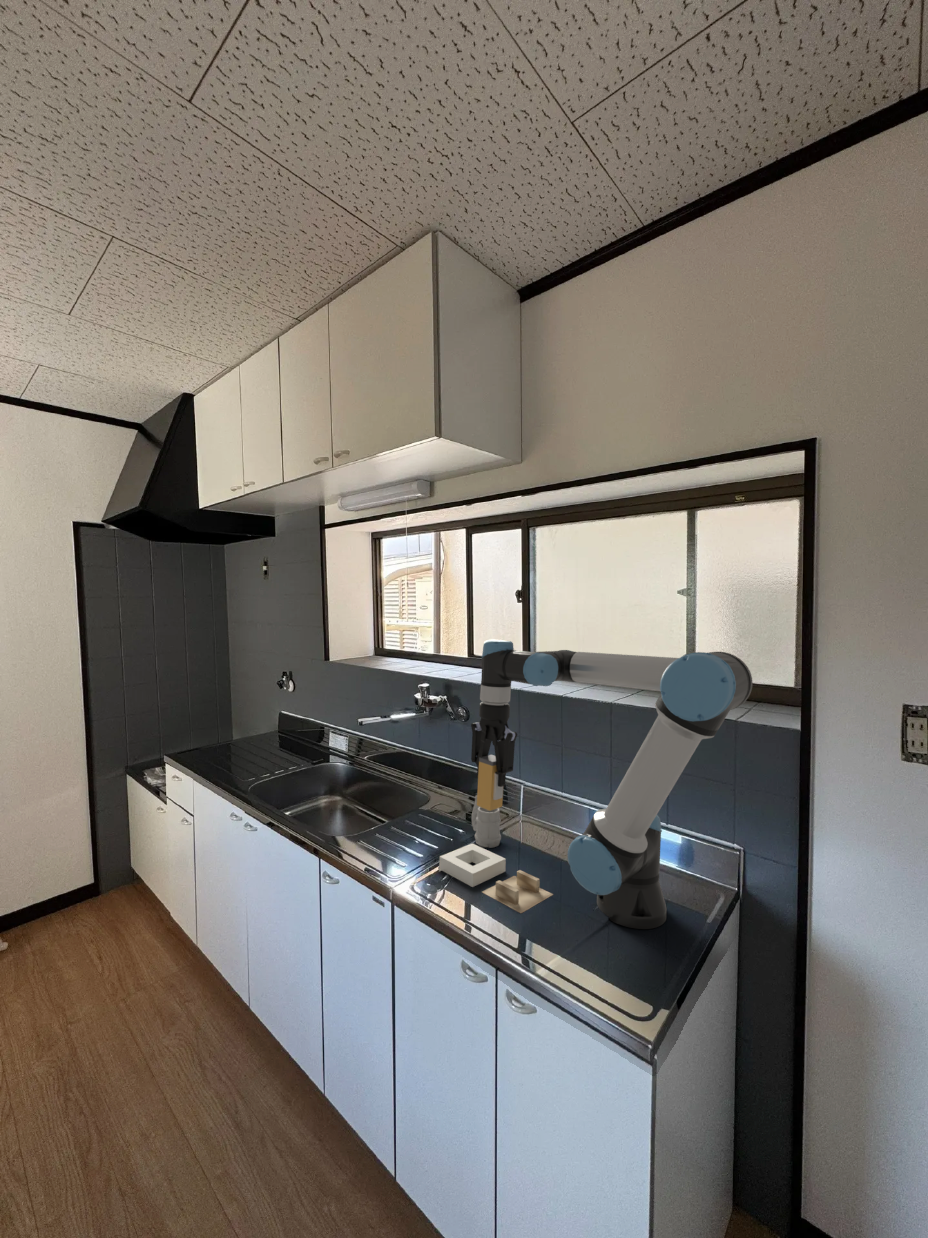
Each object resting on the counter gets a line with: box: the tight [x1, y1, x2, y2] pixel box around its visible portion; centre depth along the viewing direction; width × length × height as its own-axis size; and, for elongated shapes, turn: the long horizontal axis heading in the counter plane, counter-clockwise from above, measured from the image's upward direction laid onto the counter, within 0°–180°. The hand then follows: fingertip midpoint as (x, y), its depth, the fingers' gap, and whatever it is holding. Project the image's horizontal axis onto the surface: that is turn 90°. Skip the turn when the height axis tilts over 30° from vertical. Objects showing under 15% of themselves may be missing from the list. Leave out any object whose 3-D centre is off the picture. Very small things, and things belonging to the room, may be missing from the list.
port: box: [438, 843, 507, 888], centre depth 135 cm, size 12×12×4 cm
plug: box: [476, 754, 504, 811], centre depth 131 cm, size 4×4×12 cm
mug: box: [471, 795, 502, 849], centre depth 156 cm, size 8×12×12 cm, turn 34°
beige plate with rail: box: [481, 869, 554, 914], centre depth 125 cm, size 12×12×4 cm
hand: (489, 795), depth 132 cm, fingers closed on plug, 4 cm apart
